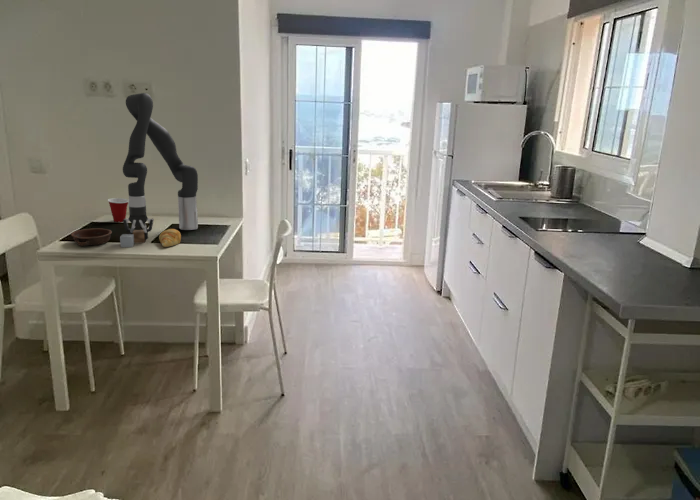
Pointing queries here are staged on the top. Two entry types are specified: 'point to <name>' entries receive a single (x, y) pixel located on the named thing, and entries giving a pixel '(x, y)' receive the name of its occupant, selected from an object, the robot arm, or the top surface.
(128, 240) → the grey block
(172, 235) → the croissant
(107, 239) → the dish
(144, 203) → the robot arm
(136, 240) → the walnut block
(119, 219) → the plastic cup
